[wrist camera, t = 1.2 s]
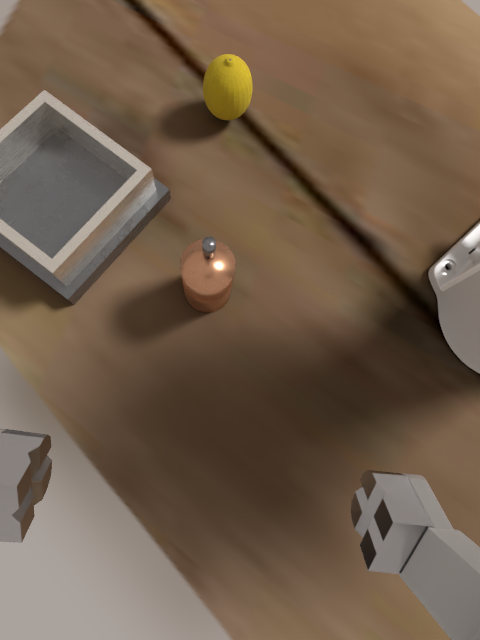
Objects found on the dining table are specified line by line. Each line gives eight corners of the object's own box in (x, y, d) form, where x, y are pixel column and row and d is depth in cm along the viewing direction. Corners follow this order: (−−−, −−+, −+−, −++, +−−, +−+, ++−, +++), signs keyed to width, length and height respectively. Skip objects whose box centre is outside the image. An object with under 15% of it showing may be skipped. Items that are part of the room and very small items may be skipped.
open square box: (63, 119, 47) (43, 78, 42) (170, 198, 46) (165, 168, 41) (-40, 216, 44) (-77, 186, 38) (74, 304, 43) (53, 287, 37)
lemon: (230, 142, 49) (235, 91, 41) (194, 116, 49) (191, 61, 41) (257, 112, 50) (267, 57, 42) (221, 87, 50) (224, 28, 42)
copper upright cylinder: (228, 314, 44) (235, 286, 34) (182, 310, 44) (175, 281, 34) (231, 270, 45) (239, 232, 35) (186, 266, 45) (181, 226, 35)
